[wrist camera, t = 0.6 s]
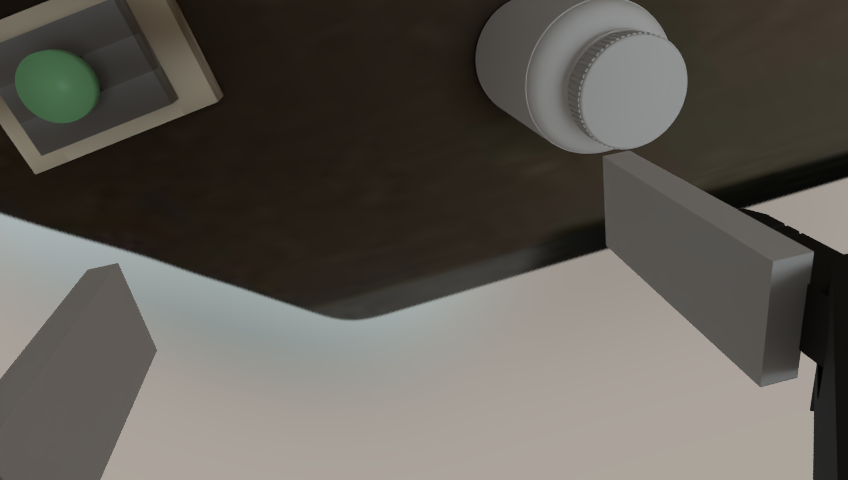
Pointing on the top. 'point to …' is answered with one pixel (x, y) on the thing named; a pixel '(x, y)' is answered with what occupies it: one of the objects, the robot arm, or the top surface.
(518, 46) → the pill bottle
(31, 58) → the button
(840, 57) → the top surface
